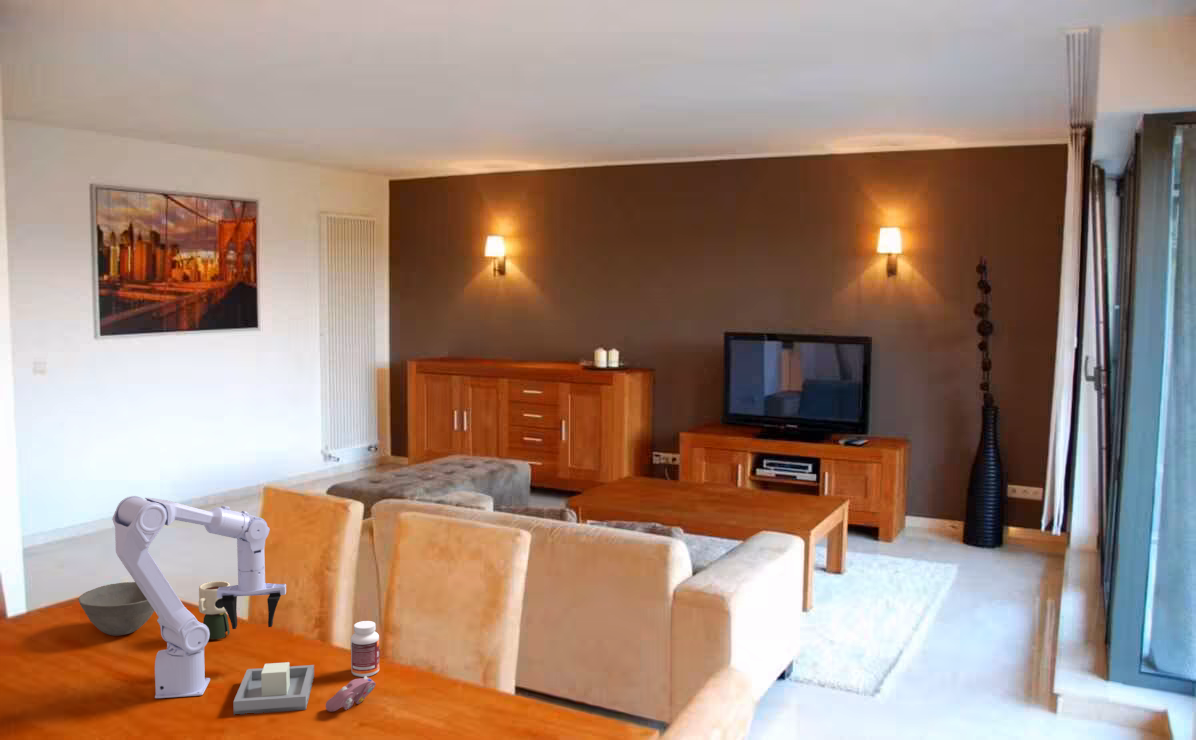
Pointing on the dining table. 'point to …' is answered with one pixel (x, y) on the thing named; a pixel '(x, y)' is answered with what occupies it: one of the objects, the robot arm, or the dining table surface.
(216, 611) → the character mug
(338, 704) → the video game controller
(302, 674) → the tray
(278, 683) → the block
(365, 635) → the pill bottle
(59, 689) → the dining table surface
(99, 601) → the bowl
